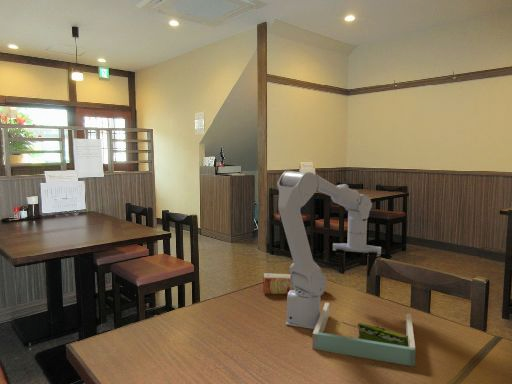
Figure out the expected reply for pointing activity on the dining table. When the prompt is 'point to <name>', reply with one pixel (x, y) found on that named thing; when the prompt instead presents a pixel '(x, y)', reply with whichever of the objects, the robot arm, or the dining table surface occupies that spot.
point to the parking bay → (364, 344)
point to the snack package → (277, 284)
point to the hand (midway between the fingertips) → (355, 274)
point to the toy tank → (380, 335)
